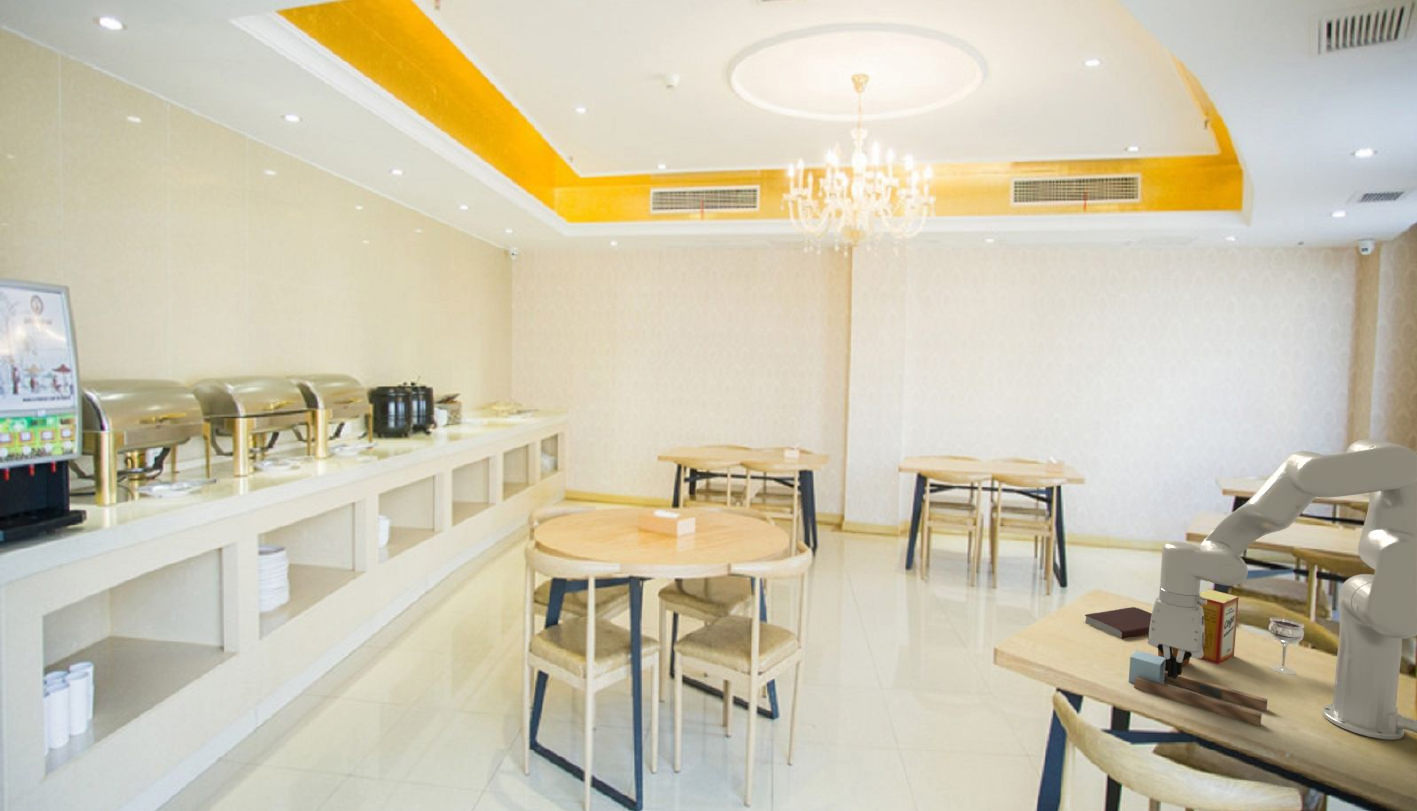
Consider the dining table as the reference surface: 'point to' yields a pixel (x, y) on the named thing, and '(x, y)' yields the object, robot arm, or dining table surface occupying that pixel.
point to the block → (1147, 667)
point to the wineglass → (1285, 637)
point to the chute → (1204, 701)
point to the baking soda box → (1219, 625)
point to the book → (1122, 622)
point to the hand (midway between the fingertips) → (1172, 675)
